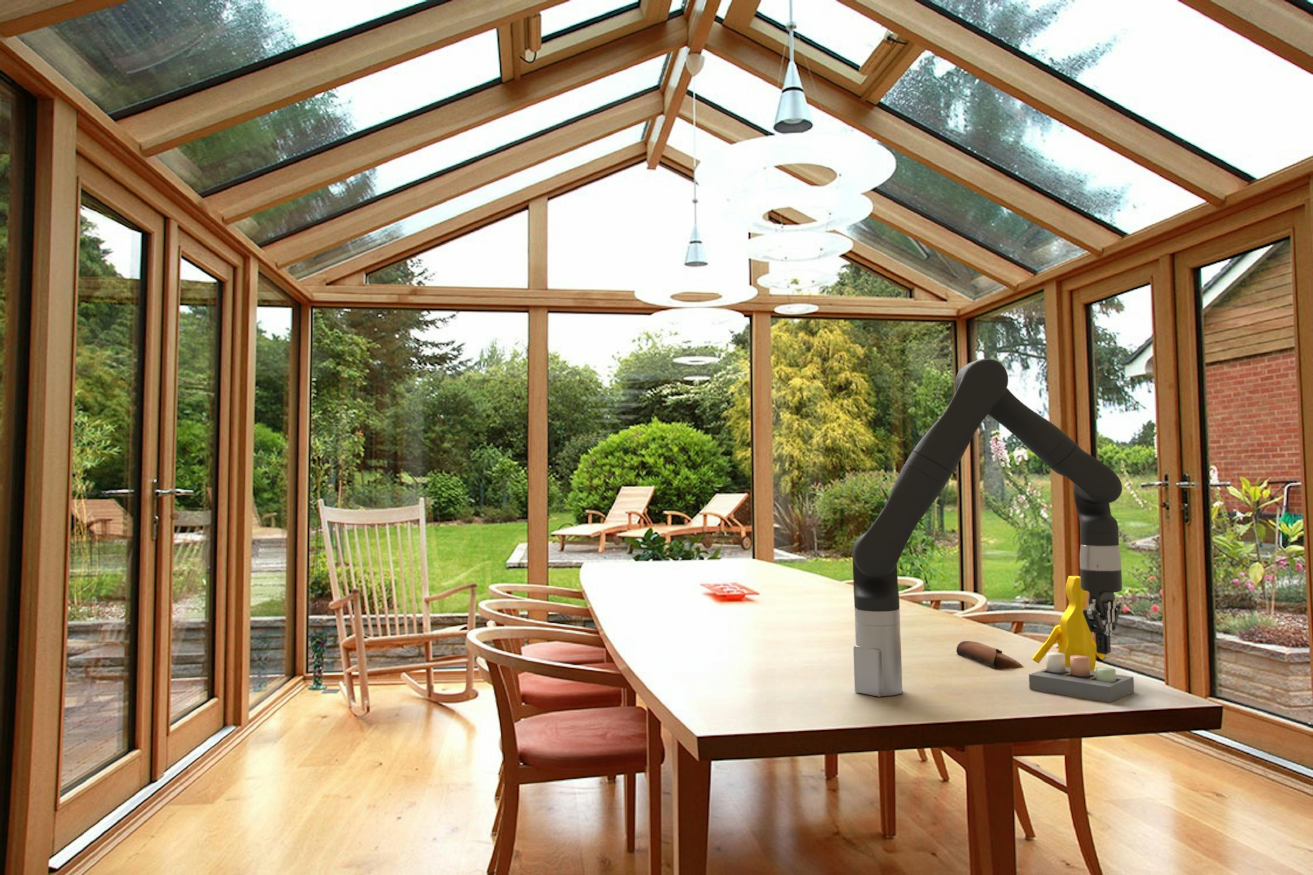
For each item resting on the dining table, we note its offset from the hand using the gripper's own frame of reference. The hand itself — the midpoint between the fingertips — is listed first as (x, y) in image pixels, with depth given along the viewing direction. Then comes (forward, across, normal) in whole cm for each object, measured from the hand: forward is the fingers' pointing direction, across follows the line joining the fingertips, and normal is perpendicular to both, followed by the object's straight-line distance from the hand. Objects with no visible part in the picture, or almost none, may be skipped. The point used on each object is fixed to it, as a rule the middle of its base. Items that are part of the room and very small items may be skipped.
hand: (1103, 652), depth 175 cm
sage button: (+7, 0, 0) cm, 7 cm away
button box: (+8, 0, +5) cm, 10 cm away
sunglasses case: (+9, +15, +32) cm, 37 cm away
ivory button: (+5, 0, +10) cm, 11 cm away
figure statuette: (+8, +14, +12) cm, 20 cm away
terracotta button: (+5, 0, +5) cm, 7 cm away
